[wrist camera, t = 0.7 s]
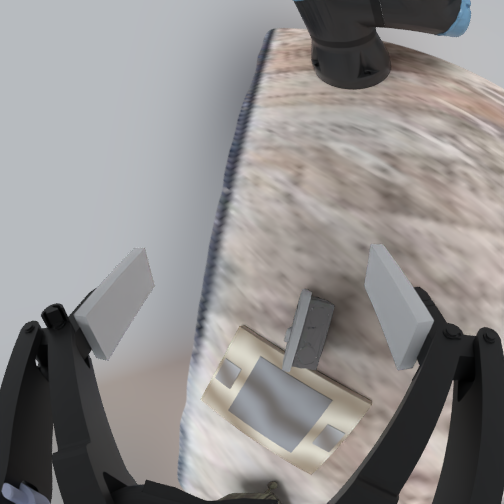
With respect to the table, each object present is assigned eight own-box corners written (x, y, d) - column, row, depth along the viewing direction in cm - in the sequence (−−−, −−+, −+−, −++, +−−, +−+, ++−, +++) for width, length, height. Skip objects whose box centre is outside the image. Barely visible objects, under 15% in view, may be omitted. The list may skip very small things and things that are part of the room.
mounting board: (244, 325, 40) (238, 326, 38) (371, 401, 30) (371, 405, 28) (205, 397, 40) (199, 399, 39) (313, 470, 30) (310, 475, 29)
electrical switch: (303, 288, 37) (288, 286, 28) (339, 296, 35) (336, 297, 27) (286, 351, 36) (266, 367, 28) (320, 361, 35) (311, 381, 26)
